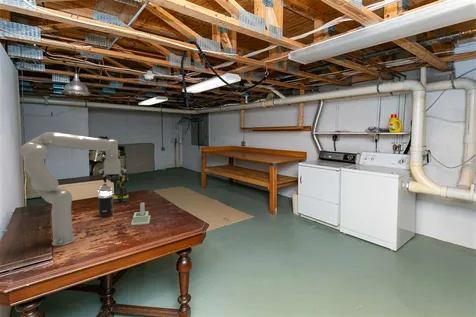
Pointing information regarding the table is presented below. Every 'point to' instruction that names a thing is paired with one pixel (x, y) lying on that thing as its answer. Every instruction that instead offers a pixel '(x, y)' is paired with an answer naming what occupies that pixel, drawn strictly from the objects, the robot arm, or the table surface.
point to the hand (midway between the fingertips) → (113, 182)
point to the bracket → (142, 209)
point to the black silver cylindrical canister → (105, 201)
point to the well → (140, 219)
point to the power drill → (123, 196)
